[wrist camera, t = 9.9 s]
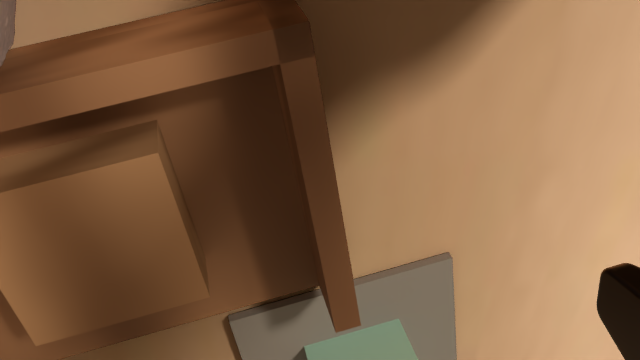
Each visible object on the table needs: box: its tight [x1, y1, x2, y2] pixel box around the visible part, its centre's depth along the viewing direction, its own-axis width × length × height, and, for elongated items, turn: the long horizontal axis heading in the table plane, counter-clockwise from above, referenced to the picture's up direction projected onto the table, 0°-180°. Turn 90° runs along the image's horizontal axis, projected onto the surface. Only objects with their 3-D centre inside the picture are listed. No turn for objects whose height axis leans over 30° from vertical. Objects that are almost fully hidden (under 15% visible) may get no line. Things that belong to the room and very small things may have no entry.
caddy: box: [0, 0, 361, 360], centre depth 20 cm, size 16×12×4 cm
